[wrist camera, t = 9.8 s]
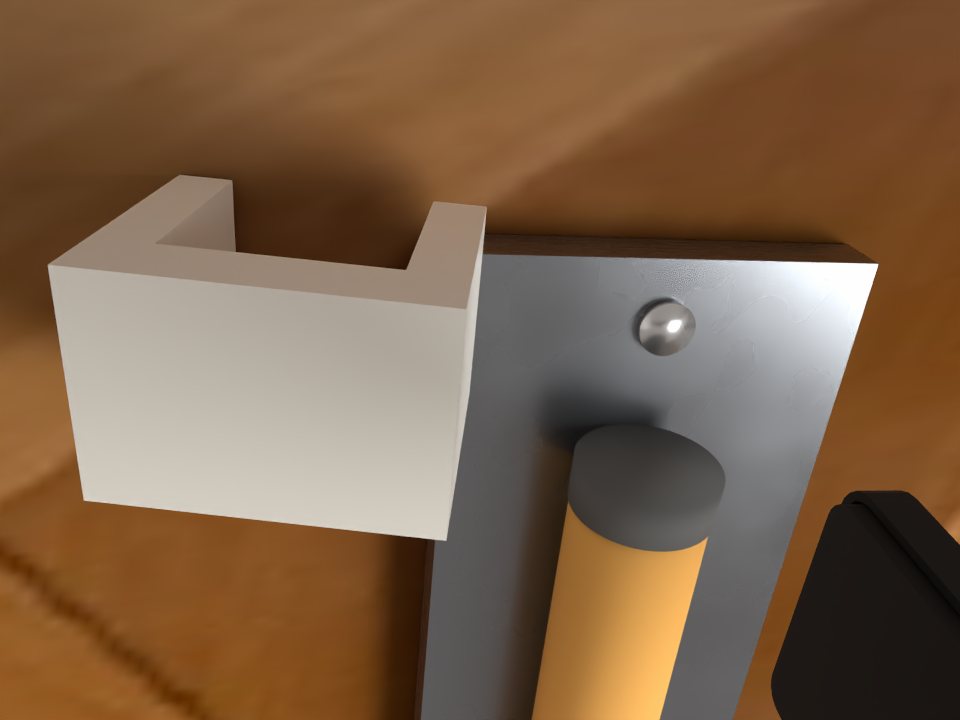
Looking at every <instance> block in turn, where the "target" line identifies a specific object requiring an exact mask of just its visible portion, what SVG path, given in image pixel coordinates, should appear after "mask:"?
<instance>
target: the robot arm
mask: <svg viewBox="0 0 960 720" xmlns="http://www.w3.org/2000/svg"><path fill="white" fill-rule="evenodd" d="M771 689H772V697H773V701H774V704H775V707H776V709H777V711H778V713H779V715H780V717H781V719H782V720H960V545H959V544H958V543H957V542H956V541H955V540H954V538H953V537H952V536H951V535H950V534H949V533H948V532H947V531H946V530H945V529H944V528H943V527H942V526H941V525H940V523H939V522H938V521H937V520H936V519H935V518H934V517H933V516H932V515H931V514H930V513H929V512H928V511H927V510H926V509H925V507H924V506H923V505H922V504H921V503H920V502H919V501H918V500H917V499H916V498H915V497H914V496H912V495H911V494H910V493H908V492H904V491H855V492H851V493H849V494H848V495H847V496H846V497H845V498H844V500H843V502H842V504H840V505H835V506H834V507H833V508H832V509H831V511H830V513H829V515H828V517H827V520H826V523H825V526H824V528H823V531H822V534H821V537H820V540H819V543H818V546H817V548H816V551H815V554H814V557H813V560H812V563H811V565H810V568H809V571H808V574H807V577H806V580H805V583H804V585H803V588H802V591H801V594H800V597H799V600H798V603H797V605H796V608H795V611H794V614H793V617H792V620H791V623H790V625H789V628H788V631H787V634H786V637H785V640H784V642H783V645H782V648H781V651H780V654H779V657H778V660H777V662H776V665H775V668H774V671H773V674H772V679H771Z"/></svg>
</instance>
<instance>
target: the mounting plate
mask: <svg viewBox="0 0 960 720" xmlns="http://www.w3.org/2000/svg"><path fill="white" fill-rule="evenodd" d="M877 267H878V263H876V262H875V261H873V260H871V259H870V258H868V257H867V256H865V255H864V254H862V253H861V252H859V251H857V250H856V249H854V248H853V247H851V246H850V245H848V244H818V243H784V242H750V241H715V240H681V239H647V238H612V237H578V236H543V235H509V234H484V243H483V254H482V264H481V275H480V286H479V296H478V307H477V318H476V329H475V339H474V350H473V361H472V371H471V382H470V393H469V399H468V406H467V412H466V418H465V425H464V431H463V438H462V444H461V450H460V457H459V463H458V469H457V476H456V482H455V489H454V495H453V501H452V508H451V514H450V520H449V527H448V533H447V540H446V541H443V540H434V539H427V546H426V560H425V573H424V587H423V600H422V614H421V627H420V640H419V654H418V667H417V681H416V694H415V708H414V720H532V715H533V709H534V703H535V697H536V691H537V685H538V679H539V673H540V667H541V661H542V655H543V649H544V643H545V637H546V631H547V625H548V619H549V613H550V607H551V601H552V595H553V589H554V583H555V577H556V571H557V565H558V559H559V553H560V547H561V541H562V535H563V529H564V523H565V517H566V511H567V505H568V494H567V492H568V486H569V480H570V474H571V468H572V462H573V456H574V450H575V446H576V444H577V442H578V441H579V440H580V439H581V438H582V437H583V436H584V435H585V434H587V433H588V432H590V431H592V430H595V429H597V428H600V427H604V426H609V425H616V424H639V425H647V426H653V427H657V428H662V429H665V430H669V431H672V432H675V433H677V434H680V435H682V436H684V437H687V438H689V439H691V440H693V441H694V442H696V443H698V444H699V445H701V446H702V447H704V448H705V449H706V450H708V451H709V452H710V453H711V454H712V455H713V456H714V457H715V458H716V459H717V460H718V462H719V463H720V464H721V466H722V468H723V470H724V473H725V479H726V482H725V488H724V491H723V495H722V499H721V502H720V506H719V510H718V514H717V517H716V521H715V525H714V528H713V530H712V532H711V533H710V535H709V536H708V539H707V543H706V546H705V550H704V554H703V558H702V561H701V565H700V569H699V573H698V576H697V580H696V584H695V588H694V592H693V595H692V599H691V603H690V607H689V610H688V614H687V618H686V622H685V625H684V629H683V633H682V637H681V640H680V644H679V648H678V652H677V656H676V659H675V663H674V667H673V671H672V674H671V678H670V682H669V686H668V689H667V693H666V697H665V701H664V705H663V708H662V712H661V716H660V720H733V717H734V714H735V711H736V707H737V704H738V701H739V698H740V695H741V692H742V689H743V686H744V682H745V679H746V676H747V673H748V670H749V667H750V664H751V661H752V657H753V654H754V651H755V648H756V645H757V642H758V639H759V636H760V632H761V629H762V626H763V623H764V620H765V617H766V614H767V611H768V608H769V604H770V601H771V598H772V595H773V592H774V589H775V586H776V583H777V579H778V576H779V573H780V570H781V567H782V564H783V561H784V558H785V554H786V551H787V548H788V545H789V542H790V539H791V536H792V533H793V529H794V526H795V523H796V520H797V517H798V514H799V511H800V508H801V504H802V501H803V498H804V495H805V492H806V489H807V486H808V483H809V479H810V476H811V473H812V470H813V467H814V464H815V461H816V458H817V454H818V451H819V448H820V445H821V442H822V439H823V436H824V433H825V429H826V426H827V423H828V420H829V417H830V414H831V411H832V408H833V404H834V401H835V398H836V395H837V392H838V389H839V386H840V383H841V380H842V376H843V373H844V370H845V367H846V364H847V361H848V358H849V355H850V351H851V348H852V345H853V342H854V339H855V336H856V333H857V330H858V326H859V323H860V320H861V317H862V314H863V311H864V308H865V305H866V301H867V298H868V295H869V292H870V289H871V286H872V283H873V280H874V276H875V273H876V270H877Z"/></svg>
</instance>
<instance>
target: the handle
mask: <svg viewBox="0 0 960 720" xmlns="http://www.w3.org/2000/svg"><path fill="white" fill-rule="evenodd" d="M725 482H726V479H725V473H724V470H723V468H722V466H721V464H720V463H719V462H718V460H717V459H716V458H715V457H714V456H713V455H712V454H711V453H710V452H709V451H708V450H706V449H705V448H704V447H702V446H701V445H699V444H698V443H696V442H694V441H693V440H691V439H689V438H687V437H684V436H682V435H680V434H677V433H675V432H672V431H669V430H665V429H662V428H657V427H653V426H647V425H639V424H616V425H609V426H604V427H600V428H597V429H595V430H592V431H590V432H588V433H587V434H585V435H584V436H583V437H582V438H581V439H580V440H579V441H578V442H577V444H576V446H575V450H574V456H573V462H572V468H571V474H570V480H569V486H568V492H567V494H568V505H567V511H566V517H565V523H564V529H563V535H562V541H561V547H560V553H559V559H558V565H557V571H556V577H555V583H554V589H553V595H552V601H551V607H550V613H549V619H548V625H547V631H546V637H545V643H544V649H543V655H542V661H541V667H540V673H539V679H538V685H537V691H536V697H535V703H534V709H533V715H532V720H660V716H661V712H662V708H663V705H664V701H665V697H666V693H667V689H668V686H669V682H670V678H671V674H672V671H673V667H674V663H675V659H676V656H677V652H678V648H679V644H680V640H681V637H682V633H683V629H684V625H685V622H686V618H687V614H688V610H689V607H690V603H691V599H692V595H693V592H694V588H695V584H696V580H697V576H698V573H699V569H700V565H701V561H702V558H703V554H704V550H705V546H706V543H707V539H708V536H709V535H710V533H711V532H712V530H713V528H714V525H715V521H716V517H717V514H718V510H719V506H720V502H721V499H722V495H723V491H724V488H725Z"/></svg>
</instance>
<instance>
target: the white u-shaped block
mask: <svg viewBox="0 0 960 720" xmlns="http://www.w3.org/2000/svg"><path fill="white" fill-rule="evenodd" d="M486 211H487V207H485V206H475V205H465V204H456V203H446V202H437V201H434V202H433V204H432V207H431V209H430V212H429V214H428V217H427V219H426V222H425V224H424V227H423V229H422V232H421V234H420V237H419V239H418V242H417V244H416V247H415V249H414V252H413V254H412V257H411V259H410V262H409V264H408V267H407V269H406V270H400V269H391V268H381V267H372V266H362V265H353V264H344V263H334V262H325V261H315V260H306V259H296V258H287V257H277V256H268V255H258V254H249V253H239V252H236V247H235V226H234V204H233V183H232V180H225V179H216V178H206V177H197V176H187V175H179V176H177V177H176V178H174V179H173V180H171V181H170V182H168V183H167V184H165V185H164V186H162V187H161V188H160V189H158V190H157V191H155V192H154V193H152V194H151V195H149V196H148V197H146V198H145V199H143V200H142V201H140V202H139V203H137V204H136V205H135V206H133V207H132V208H130V209H129V210H127V211H126V212H124V213H123V214H121V215H120V216H118V217H117V218H115V219H114V220H112V221H111V222H110V223H108V224H107V225H105V226H104V227H102V228H101V229H99V230H98V231H96V232H95V233H93V234H92V235H90V236H89V237H88V238H86V239H85V240H83V241H82V242H80V243H79V244H77V245H76V246H74V247H73V248H71V249H70V250H68V251H67V252H65V253H64V254H63V255H61V256H60V257H58V258H57V259H55V260H54V261H52V262H51V263H49V264H48V271H49V277H50V284H51V290H52V297H53V303H54V310H55V316H56V323H57V329H58V335H59V342H60V348H61V355H62V361H63V368H64V374H65V381H66V387H67V394H68V400H69V407H70V413H71V420H72V426H73V433H74V439H75V446H76V452H77V459H78V465H79V472H80V478H81V485H82V491H83V498H84V500H85V501H94V502H103V503H112V504H121V505H130V506H139V507H148V508H157V509H165V510H174V511H183V512H192V513H201V514H210V515H219V516H228V517H237V518H246V519H255V520H264V521H273V522H282V523H291V524H300V525H309V526H318V527H327V528H336V529H345V530H354V531H363V532H372V533H381V534H389V535H398V536H407V537H416V538H425V539H434V540H443V541H446V540H447V533H448V527H449V520H450V514H451V508H452V501H453V495H454V489H455V482H456V476H457V469H458V463H459V457H460V450H461V444H462V438H463V431H464V425H465V418H466V412H467V406H468V399H469V393H470V382H471V371H472V361H473V350H474V339H475V329H476V318H477V307H478V296H479V286H480V275H481V264H482V254H483V243H484V232H485V222H486Z"/></svg>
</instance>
